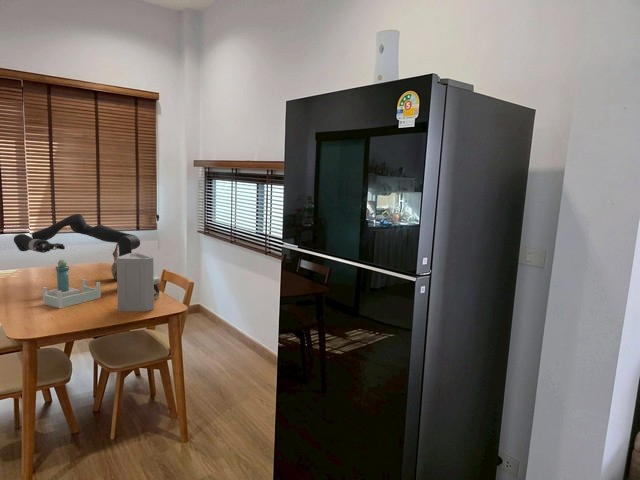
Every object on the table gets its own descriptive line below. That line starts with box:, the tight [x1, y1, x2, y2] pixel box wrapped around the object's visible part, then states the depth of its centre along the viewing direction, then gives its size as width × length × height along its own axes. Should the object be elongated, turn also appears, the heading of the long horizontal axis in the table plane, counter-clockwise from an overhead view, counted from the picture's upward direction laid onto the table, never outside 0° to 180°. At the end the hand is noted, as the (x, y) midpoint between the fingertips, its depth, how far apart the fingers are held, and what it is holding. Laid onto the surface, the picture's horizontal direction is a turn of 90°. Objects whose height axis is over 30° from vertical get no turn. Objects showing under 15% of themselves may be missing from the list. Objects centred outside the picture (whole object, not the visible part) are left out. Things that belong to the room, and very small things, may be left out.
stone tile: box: [47, 286, 81, 298], centre depth 240 cm, size 12×12×2 cm
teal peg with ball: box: [55, 259, 70, 292], centre depth 239 cm, size 6×6×18 cm
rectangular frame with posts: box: [42, 278, 101, 309], centre depth 228 cm, size 14×24×9 cm, turn 154°
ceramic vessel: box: [110, 243, 120, 281], centre depth 276 cm, size 16×9×25 cm, turn 44°
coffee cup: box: [154, 275, 161, 300], centre depth 240 cm, size 9×9×12 cm
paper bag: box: [116, 252, 155, 312], centre depth 220 cm, size 19×15×28 cm
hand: (56, 248), depth 239 cm, fingers open, 8 cm apart
